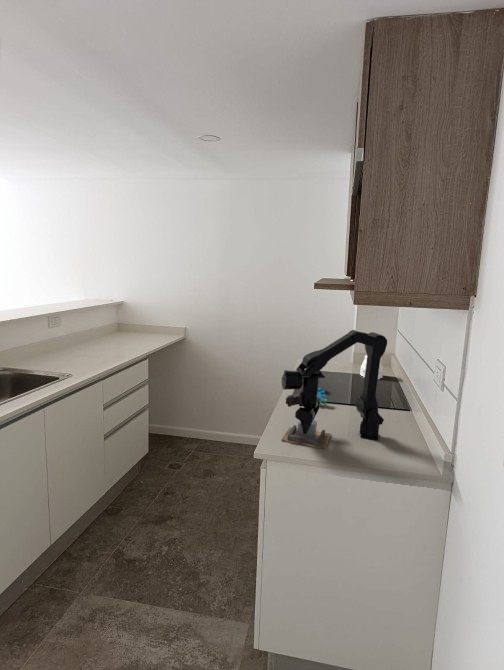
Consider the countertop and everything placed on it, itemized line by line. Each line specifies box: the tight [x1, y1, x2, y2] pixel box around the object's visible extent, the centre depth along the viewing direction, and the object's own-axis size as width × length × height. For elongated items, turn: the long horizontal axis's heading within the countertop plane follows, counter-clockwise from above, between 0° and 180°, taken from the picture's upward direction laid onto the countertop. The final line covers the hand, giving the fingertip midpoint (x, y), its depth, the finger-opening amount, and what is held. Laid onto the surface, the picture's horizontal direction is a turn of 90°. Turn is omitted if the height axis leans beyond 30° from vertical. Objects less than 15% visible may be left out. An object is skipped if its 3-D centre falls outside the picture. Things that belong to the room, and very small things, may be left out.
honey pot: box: [359, 354, 384, 380], centre depth 247 cm, size 13×13×18 cm
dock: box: [281, 424, 332, 450], centre depth 157 cm, size 16×13×2 cm
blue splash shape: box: [318, 386, 328, 406], centre depth 195 cm, size 11×6×10 cm
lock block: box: [297, 420, 318, 439], centre depth 156 cm, size 6×5×6 cm
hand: (307, 429), depth 156 cm, fingers open, 9 cm apart
